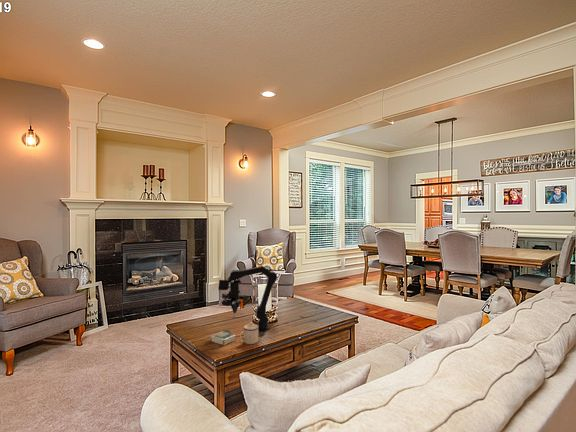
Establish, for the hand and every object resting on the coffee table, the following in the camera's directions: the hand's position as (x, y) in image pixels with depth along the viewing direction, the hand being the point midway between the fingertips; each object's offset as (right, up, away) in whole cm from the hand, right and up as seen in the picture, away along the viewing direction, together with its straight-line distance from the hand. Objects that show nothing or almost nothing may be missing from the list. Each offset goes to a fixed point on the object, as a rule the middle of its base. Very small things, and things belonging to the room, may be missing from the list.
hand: (234, 313), depth 218 cm
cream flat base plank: (-5, -12, -16) cm, 20 cm away
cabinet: (-5, -12, -15) cm, 20 cm away
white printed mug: (+12, -12, -18) cm, 25 cm away
